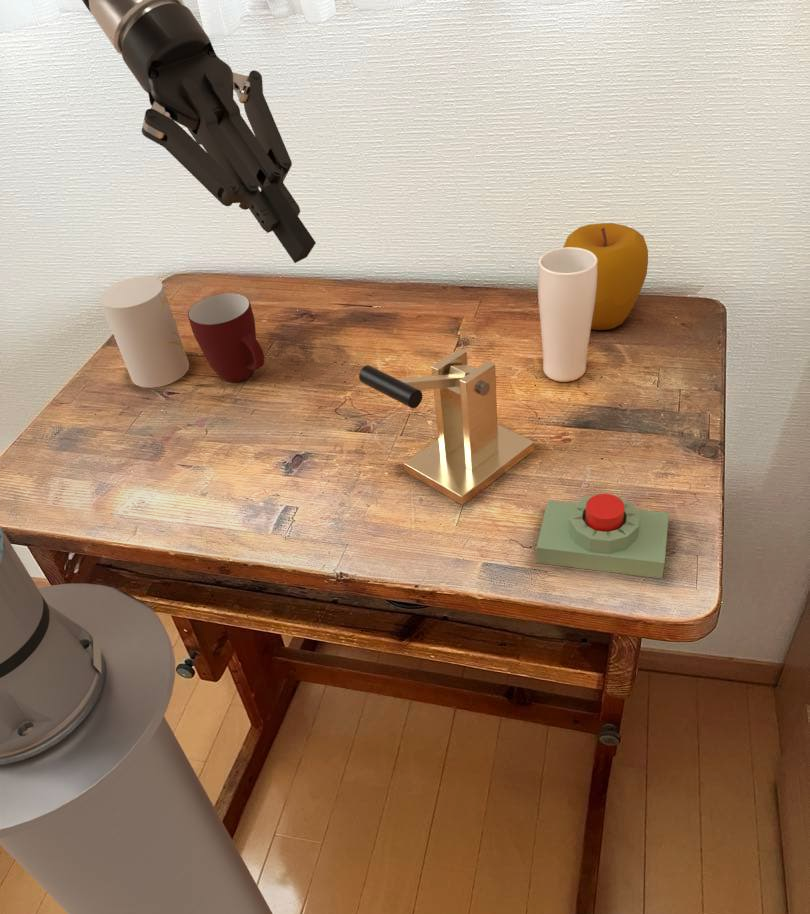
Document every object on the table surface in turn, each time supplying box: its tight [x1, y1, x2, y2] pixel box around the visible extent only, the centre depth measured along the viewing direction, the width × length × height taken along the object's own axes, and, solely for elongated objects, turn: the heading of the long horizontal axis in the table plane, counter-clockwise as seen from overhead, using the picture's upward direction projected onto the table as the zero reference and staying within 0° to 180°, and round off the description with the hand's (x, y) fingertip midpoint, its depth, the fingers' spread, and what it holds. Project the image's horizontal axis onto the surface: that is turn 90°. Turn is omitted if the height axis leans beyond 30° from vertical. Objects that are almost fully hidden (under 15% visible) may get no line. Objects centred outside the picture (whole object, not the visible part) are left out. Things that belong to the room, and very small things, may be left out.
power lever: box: [358, 364, 477, 409], centre depth 83 cm, size 13×7×2 cm, turn 134°
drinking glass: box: [537, 247, 598, 383], centre depth 100 cm, size 7×7×15 cm
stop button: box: [585, 493, 625, 532], centre depth 80 cm, size 4×4×2 cm
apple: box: [562, 222, 649, 331], centre depth 108 cm, size 11×11×13 cm
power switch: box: [403, 348, 535, 506], centre depth 90 cm, size 12×9×13 cm
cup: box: [99, 276, 190, 389], centre depth 112 cm, size 8×8×12 cm
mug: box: [187, 292, 266, 384], centre depth 109 cm, size 10×8×10 cm
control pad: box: [535, 493, 670, 579], centre depth 82 cm, size 12×7×4 cm, turn 74°
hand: (305, 252), depth 77 cm, fingers closed
